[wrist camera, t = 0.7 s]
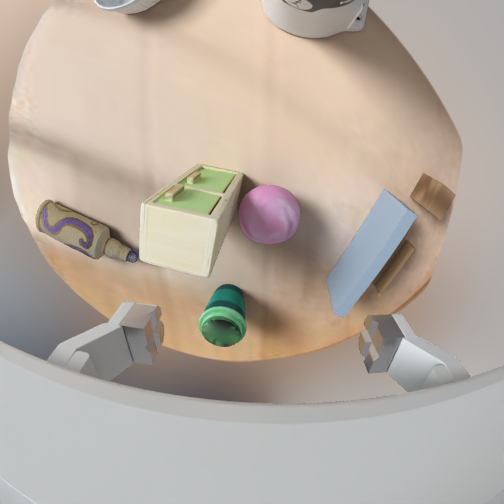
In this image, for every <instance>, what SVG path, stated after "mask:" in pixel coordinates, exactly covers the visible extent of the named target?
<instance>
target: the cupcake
mask: <svg viewBox="0 0 504 504" xmlns="http://www.w3.org/2000/svg"><path fill="white" fill-rule="evenodd" d="M300 214H301V213H300V207H299V204H298V202H297V200H296V198H295V197H294V195H293V194H292V193H291V192H290V191H288V190H286V189H284V188H282V187H279V186H275V185H261V186H258V187H256V188H254V189H253V190H251V191H249V192H248V193H247V194H246V195H245V196H244V197H243V199H242V200H241V202H240V205H239V209H238V220H239V224H240V227H241V229H242V231H243V232H244V234H245V235H246V236H247V237H248V238H249V239H250V240H252V241H254V242H256V243H263V244H276V243H281V242H284V241H286V240H288V239H289V238H291V237H292V236H293V235H294V233H295V232H296V230H297V228H298V226H299V221H300Z"/></svg>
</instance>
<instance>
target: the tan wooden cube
mask: <svg viewBox="0 0 504 504" xmlns="http://www.w3.org/2000/svg"><path fill="white" fill-rule="evenodd" d="M410 197H411V198H413V199H414V200H415V201H416V202H418V203H419V204H420V205H422V206H423V207H424V208H425V209H427V210H428V211H429V212H431V213H432V214H433V215H435V216H436V217H437V218H438V219H440V220H441V219H442V218H443V216H444V214H445V213H446V211H447V209H448V208H449V206H450V204H451V203H452V201H453V199H454V197H455V194H454V193H453V192H452V191H451V190H450V189H448V188H447V187H446V186H445V185H444V184H442V183H441V182H439V181H437V180H435V179H433V178H431V177H430V176H428V175H426V174H424V173H423V174H422V176H421V178H420V180H419V182H418V183H417V185H416V187H415V189H414V190H413V192H412V194H411V196H410Z"/></svg>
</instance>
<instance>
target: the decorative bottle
mask: <svg viewBox="0 0 504 504" xmlns="http://www.w3.org/2000/svg"><path fill="white" fill-rule="evenodd" d="M36 227H37V229H38V230H39V231H40V232H43V233H45V234H47V235H49V236H50V237H52V238H54V239H56V240H58V241H60V242H62V243H64V244H65V245H67V246H69V247H71V248H73V249H75V250H78V251H80V252H82V253H84V254H85V255H87V256H88V257H91V258H93V259H99V258H100V257H102V256H103V255H104V254H105V255H107V256H108V257H111V258H118V259H120V260H123V261H125V262H126V261H129V262H132V263H133V262H136V261H137V260H138V255H137V253H136V252H135V251H133V252H131V250H133V249H132V248H131V247H128V246H125V245H123V244H122V243H120V242H119V241H118V240H116V239H114V238H110V230H109V228H108V227H107V226H105V225H103V224H101V223H98V222H95V221H93V220H91V219H89V218H86V217H84V216H82V215H80V214H78V213H76V212H74V211H72V210H70V209H68V208H65V207H63V206H61V205H58V204H56V203H54V202H53V201H51V200H46V201H44V202H43V203H42V204H41V205H40V207H39V209H38V211H37V214H36Z"/></svg>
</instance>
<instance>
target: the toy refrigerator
mask: <svg viewBox="0 0 504 504" xmlns="http://www.w3.org/2000/svg"><path fill="white" fill-rule="evenodd" d="M243 175H244V174H243V173H240V172H236V171H231V170H226V169H222V168H217V167H212V166H207V165H202V164H197V165H196V166H194V167H193V168H191V169H190V170H188V171H187V172H185V173H184V174H182V175H181V176H179V177H178V178H176V179H175V180H173V181H172V182H171V183H169V184H168V185H166V186H165V187H163V188H162V189H161V190H159V191H158V192H157V193H155V194H154V195H152V196H151V197H150V198H148V199H147V200H145V201H144V202H143V203H142V205H141V214H140V243H139V257H140V260H141V261H143V262H145V263H149V264H152V265H156V266H160V267H164V268H168V269H172V270H176V271H180V272H184V273H188V274H192V275H196V276H200V277H205V278H208V277H209V276H210V274H211V272H212V269H213V267H214V264H215V262H216V259H217V256H218V254H219V251H220V249H221V246H222V244H223V241H224V238H225V236H226V234H227V231H228V228H229V226H230V224H231V221H232V218H233V216H234V213H235V211H236V207H237V203H238V198H239V194H240V189H241V184H242V180H243Z"/></svg>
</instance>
